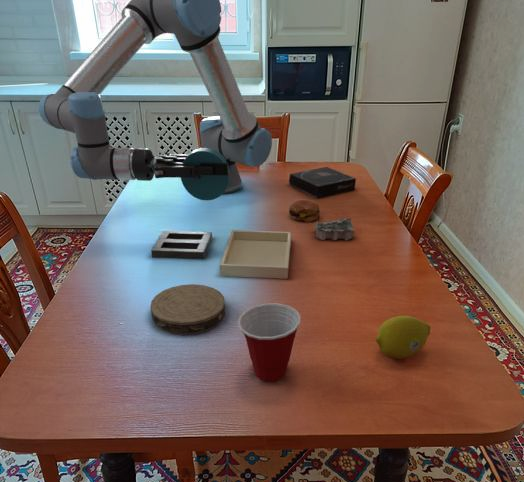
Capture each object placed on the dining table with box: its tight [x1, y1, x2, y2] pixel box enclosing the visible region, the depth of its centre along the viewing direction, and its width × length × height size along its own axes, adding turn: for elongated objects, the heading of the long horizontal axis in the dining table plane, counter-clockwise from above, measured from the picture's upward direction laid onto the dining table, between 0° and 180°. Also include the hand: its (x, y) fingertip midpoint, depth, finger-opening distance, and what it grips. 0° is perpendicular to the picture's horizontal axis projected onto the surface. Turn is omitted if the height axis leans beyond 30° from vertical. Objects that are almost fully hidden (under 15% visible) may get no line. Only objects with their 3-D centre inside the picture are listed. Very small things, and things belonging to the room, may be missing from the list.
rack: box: [150, 230, 213, 260], centre depth 133 cm, size 14×13×2 cm
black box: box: [288, 166, 357, 199], centre depth 173 cm, size 16×17×4 cm
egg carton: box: [315, 217, 355, 241], centre depth 139 cm, size 11×8×4 cm
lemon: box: [375, 315, 431, 360], centre depth 92 cm, size 11×8×8 cm
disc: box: [180, 147, 230, 201], centre depth 121 cm, size 12×3×12 cm, turn 84°
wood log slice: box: [150, 283, 227, 336], centre depth 105 cm, size 16×16×3 cm
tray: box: [219, 229, 292, 280], centre depth 128 cm, size 22×17×3 cm
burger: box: [288, 198, 321, 223], centre depth 150 cm, size 10×9×5 cm
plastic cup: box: [237, 302, 302, 383], centre depth 87 cm, size 11×11×12 cm
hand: (228, 166), depth 119 cm, fingers closed on disc, 3 cm apart
